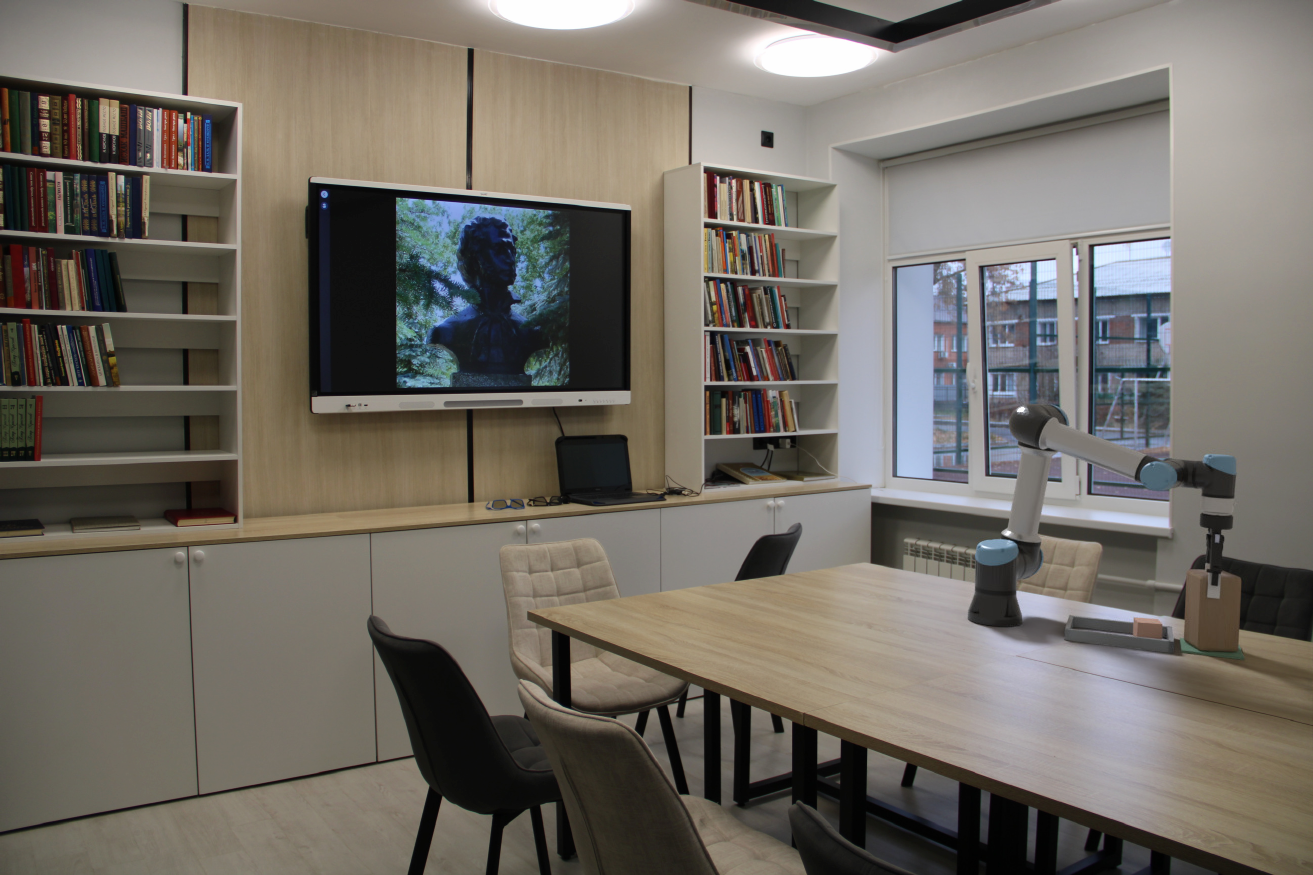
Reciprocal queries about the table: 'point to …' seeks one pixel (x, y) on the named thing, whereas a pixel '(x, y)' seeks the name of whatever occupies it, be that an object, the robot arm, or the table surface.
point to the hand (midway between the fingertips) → (1211, 592)
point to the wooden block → (1212, 612)
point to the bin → (1116, 638)
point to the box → (1147, 628)
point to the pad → (1190, 649)
